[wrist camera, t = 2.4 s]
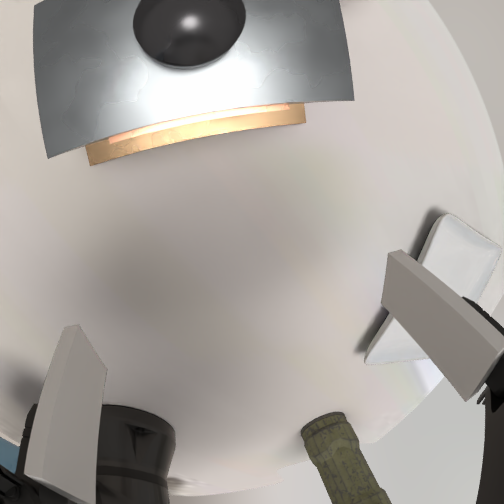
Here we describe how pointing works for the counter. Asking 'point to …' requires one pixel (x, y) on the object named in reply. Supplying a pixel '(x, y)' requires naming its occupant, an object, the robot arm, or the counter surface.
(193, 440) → the counter surface
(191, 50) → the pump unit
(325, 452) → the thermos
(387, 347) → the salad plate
